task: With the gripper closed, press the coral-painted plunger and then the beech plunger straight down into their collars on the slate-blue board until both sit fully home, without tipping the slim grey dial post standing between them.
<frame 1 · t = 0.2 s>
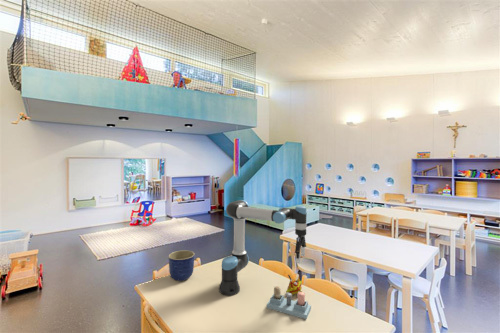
hand: (300, 259, 172), 28 cm above the table, fingers open, 13 cm apart
planter: (181, 278, 202), on the table
toy: (294, 293, 179), on the table
knob coral: (301, 299, 157), point 8 cm above the table, slide at 0.0 cm
dial post: (288, 304, 160), point 2 cm above the table, touching mount board
mount board: (288, 308, 161), on the table
knob beech: (277, 293, 164), point 8 cm above the table, slide at 0.0 cm
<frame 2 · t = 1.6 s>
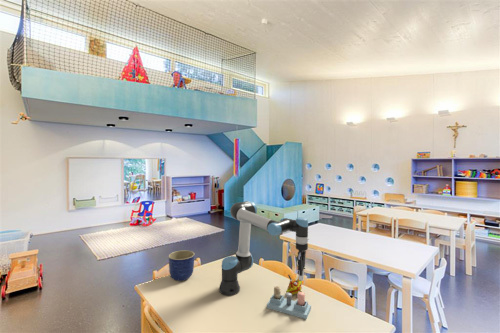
hand: (301, 279, 157), 20 cm above the table, fingers closed
nothing on the table moved.
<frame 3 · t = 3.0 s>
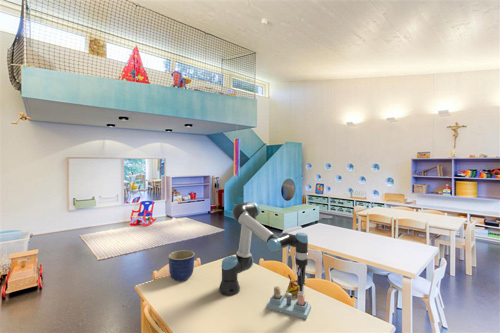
hand: (301, 295, 157), 11 cm above the table, fingers closed
knob coral: (301, 301, 157), point 7 cm above the table, slide at 1.0 cm, touching gripper
everything else where it was.
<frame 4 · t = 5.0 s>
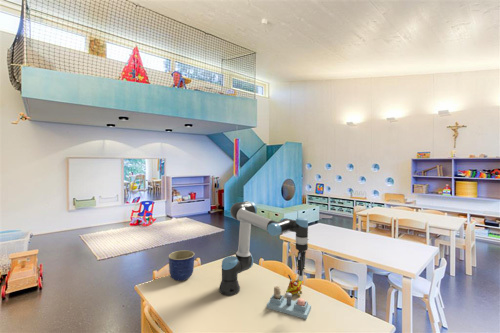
hand: (301, 280, 157), 20 cm above the table, fingers closed
knob coral: (301, 305, 157), point 4 cm above the table, slide at 4.1 cm
everything else where it was.
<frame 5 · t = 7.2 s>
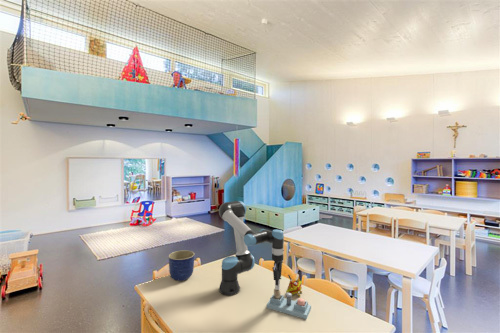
hand: (277, 289, 164), 11 cm above the table, fingers closed
knob beech: (277, 294, 164), point 7 cm above the table, slide at 1.1 cm, touching gripper
everything else where it was.
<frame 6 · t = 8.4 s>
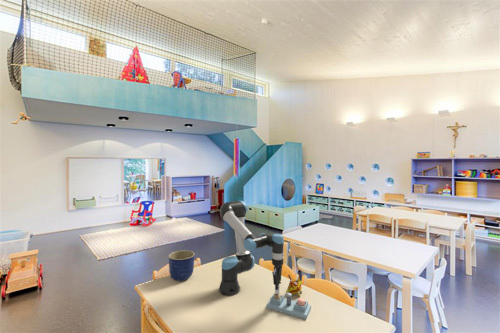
hand: (277, 293, 164), 8 cm above the table, fingers closed
knob beech: (277, 299, 164), point 4 cm above the table, slide at 4.1 cm
everything else where it was.
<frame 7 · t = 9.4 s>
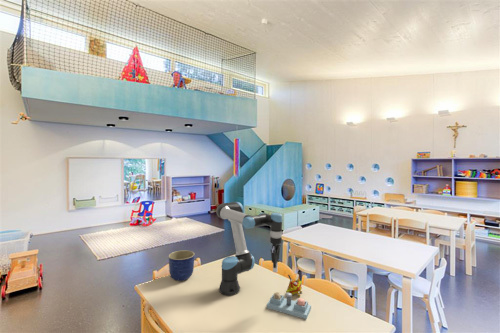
hand: (275, 271, 165), 22 cm above the table, fingers closed
nothing on the table moved.
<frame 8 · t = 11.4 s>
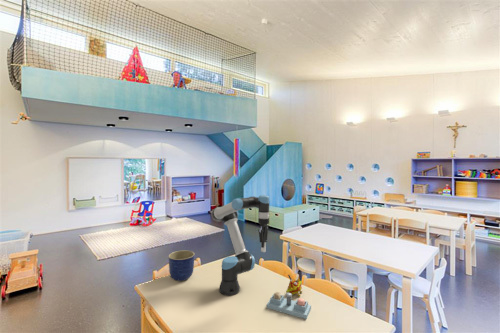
hand: (263, 251, 173), 32 cm above the table, fingers closed
nothing on the table moved.
at the end: knob coral slide at 4.1 cm; knob beech slide at 4.1 cm; dial post tilted 0° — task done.
